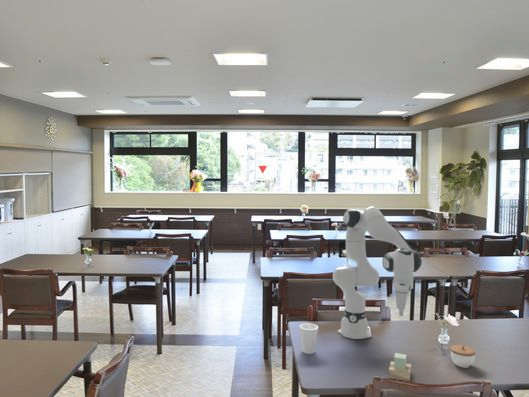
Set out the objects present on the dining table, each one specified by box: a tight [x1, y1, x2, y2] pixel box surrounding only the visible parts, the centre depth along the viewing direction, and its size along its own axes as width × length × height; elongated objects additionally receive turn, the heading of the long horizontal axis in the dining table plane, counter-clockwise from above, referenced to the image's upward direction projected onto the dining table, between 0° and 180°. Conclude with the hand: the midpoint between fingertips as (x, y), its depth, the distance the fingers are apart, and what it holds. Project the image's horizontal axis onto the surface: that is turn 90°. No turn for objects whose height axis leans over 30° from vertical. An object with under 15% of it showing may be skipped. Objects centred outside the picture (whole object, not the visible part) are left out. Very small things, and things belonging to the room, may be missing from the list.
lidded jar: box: [450, 344, 476, 369], centre depth 209 cm, size 11×11×9 cm
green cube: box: [393, 352, 408, 370], centre depth 197 cm, size 5×5×5 cm
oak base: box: [388, 360, 412, 382], centre depth 197 cm, size 9×9×4 cm
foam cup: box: [299, 322, 319, 355], centre depth 223 cm, size 10×9×13 cm
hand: (402, 312), depth 204 cm, fingers open, 8 cm apart
